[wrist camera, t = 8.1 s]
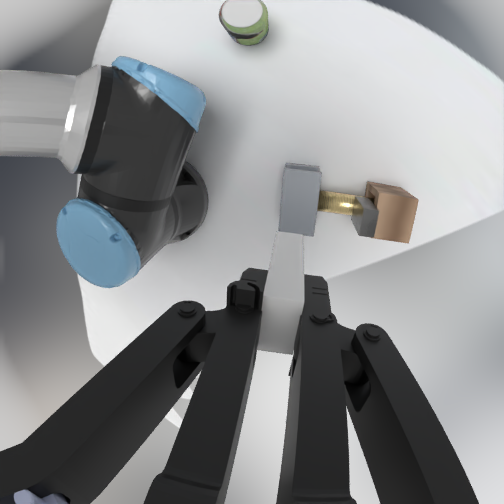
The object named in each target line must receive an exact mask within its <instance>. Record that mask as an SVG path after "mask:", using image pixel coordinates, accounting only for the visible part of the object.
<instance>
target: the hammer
mask: <svg viewBox="0 0 504 504" xmlns="http://www.w3.org/2000/svg"><path fill="white" fill-rule="evenodd" d="M374 201H375V198H369V197H363V196H356V195H350V194H343V193H336V192H328V191H321V190H320V191H319V199H318V207H317V211H323V212H331V213H338V214H346V215H352V217H351V220H352V222H353V224H354V226H355V228H356V230H357V233H358V235H359V236H365V237H372V238H374V235H375V230H376V226H377V221H378V215H379V210H378V209H377V207H376V206H375V205H374Z"/></svg>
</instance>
